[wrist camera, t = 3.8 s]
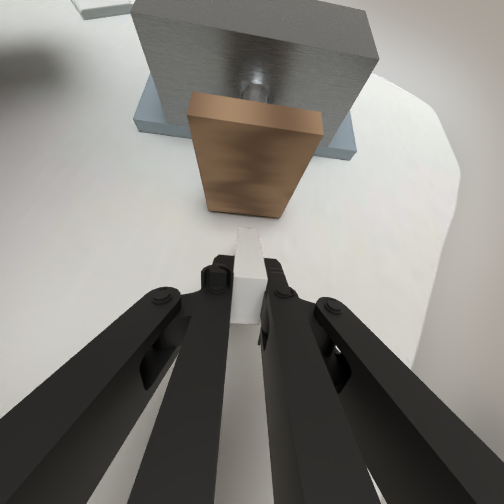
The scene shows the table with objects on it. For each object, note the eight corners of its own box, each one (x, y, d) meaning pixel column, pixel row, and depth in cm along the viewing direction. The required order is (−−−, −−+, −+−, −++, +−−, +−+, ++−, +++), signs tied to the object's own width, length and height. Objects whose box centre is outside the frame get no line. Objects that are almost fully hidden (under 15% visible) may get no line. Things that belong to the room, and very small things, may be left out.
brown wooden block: (208, 210, 19) (186, 114, 10) (220, 132, 23) (212, 10, 14) (280, 217, 20) (323, 135, 11) (280, 141, 24) (312, 30, 14)
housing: (139, 131, 22) (71, -1, 13) (155, 84, 25) (110, -50, 16) (349, 160, 25) (422, 67, 15) (342, 115, 28) (400, 13, 18)
